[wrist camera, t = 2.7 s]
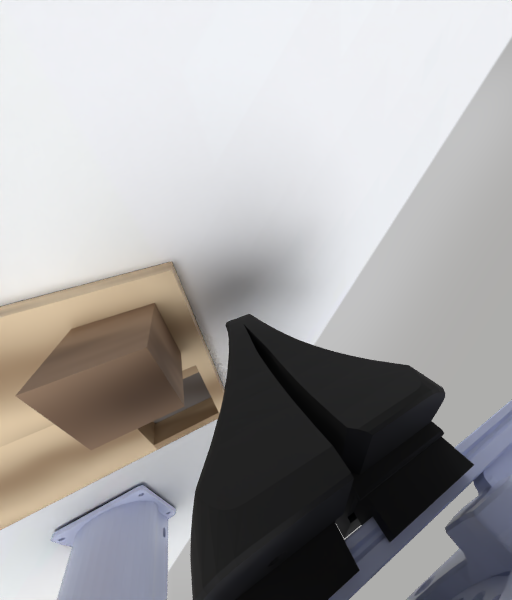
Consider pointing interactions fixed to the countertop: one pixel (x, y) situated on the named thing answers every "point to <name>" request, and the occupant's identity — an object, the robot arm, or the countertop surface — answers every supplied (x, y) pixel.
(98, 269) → the countertop surface
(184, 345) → the wooden board
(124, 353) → the block
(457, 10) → the countertop surface
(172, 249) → the countertop surface
